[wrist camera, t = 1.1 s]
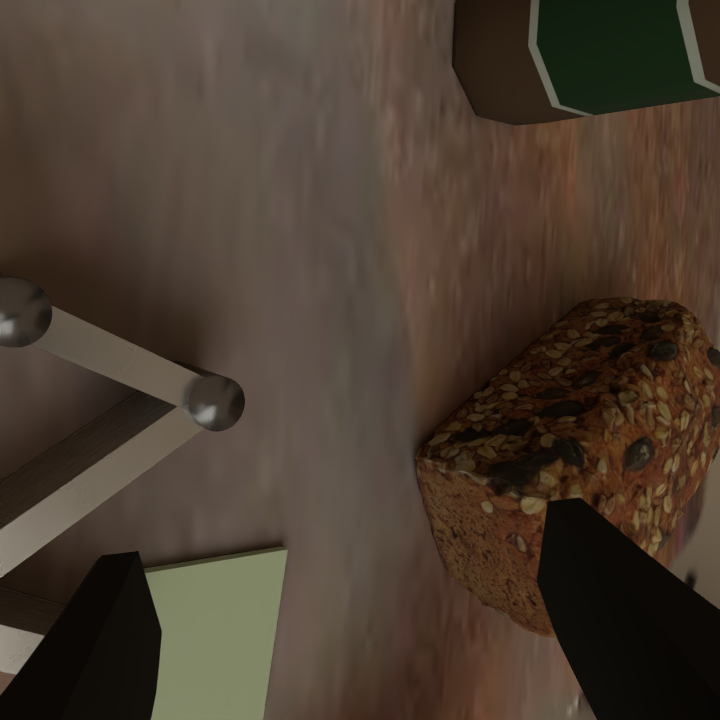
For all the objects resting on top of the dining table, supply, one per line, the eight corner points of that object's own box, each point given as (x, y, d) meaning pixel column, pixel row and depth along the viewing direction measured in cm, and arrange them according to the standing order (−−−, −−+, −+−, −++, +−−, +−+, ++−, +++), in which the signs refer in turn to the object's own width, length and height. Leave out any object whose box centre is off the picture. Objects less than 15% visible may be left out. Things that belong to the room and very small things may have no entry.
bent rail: (-162, 706, 18) (-159, 788, 15) (-120, 256, 17) (-108, 261, 14) (165, 630, 24) (206, 677, 22) (208, 302, 23) (257, 311, 21)
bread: (442, 589, 36) (605, 682, 28) (394, 441, 31) (573, 504, 24) (603, 418, 46) (756, 453, 38) (584, 285, 41) (754, 297, 34)
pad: (71, 786, 23) (74, 793, 22) (97, 576, 22) (101, 580, 22) (257, 717, 28) (262, 722, 28) (282, 546, 27) (287, 549, 27)
